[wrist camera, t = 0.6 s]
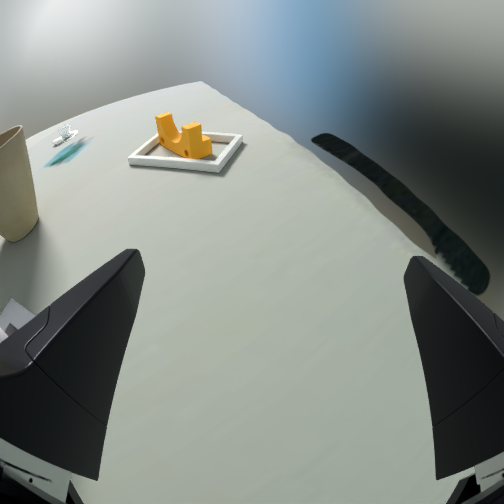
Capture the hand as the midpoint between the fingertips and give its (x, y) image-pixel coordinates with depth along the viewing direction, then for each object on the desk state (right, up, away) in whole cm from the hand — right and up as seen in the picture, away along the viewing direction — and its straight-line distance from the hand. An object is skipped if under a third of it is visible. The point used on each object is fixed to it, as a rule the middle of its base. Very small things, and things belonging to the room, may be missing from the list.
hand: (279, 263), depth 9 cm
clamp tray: (-13, +19, +40) cm, 46 cm away
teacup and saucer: (-57, +32, +53) cm, 85 cm away
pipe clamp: (-14, +20, +41) cm, 47 cm away
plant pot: (-40, +4, +27) cm, 49 cm away
